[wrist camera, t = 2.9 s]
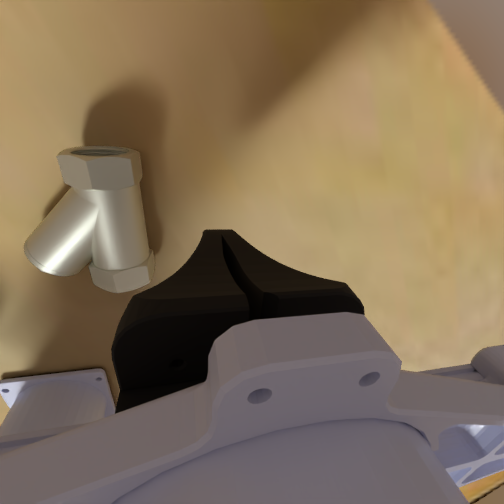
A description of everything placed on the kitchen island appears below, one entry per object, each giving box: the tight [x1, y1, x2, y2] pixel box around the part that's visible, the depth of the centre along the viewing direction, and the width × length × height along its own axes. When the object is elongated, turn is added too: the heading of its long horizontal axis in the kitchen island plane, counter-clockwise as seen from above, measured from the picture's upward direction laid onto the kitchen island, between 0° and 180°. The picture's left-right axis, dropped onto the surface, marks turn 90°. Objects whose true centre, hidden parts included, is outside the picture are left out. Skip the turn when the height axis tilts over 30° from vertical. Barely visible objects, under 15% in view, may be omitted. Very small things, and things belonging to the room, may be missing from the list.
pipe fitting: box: [24, 146, 155, 293], centre depth 15 cm, size 8×4×7 cm
